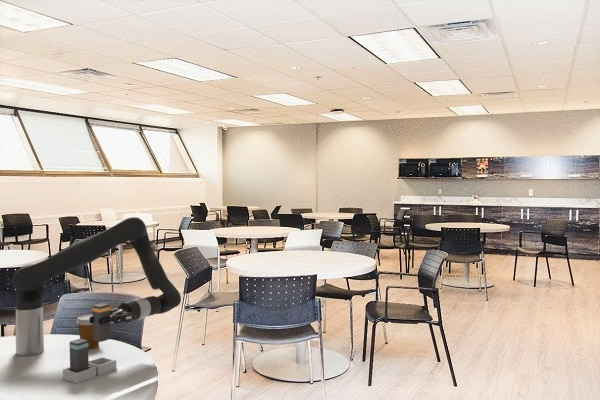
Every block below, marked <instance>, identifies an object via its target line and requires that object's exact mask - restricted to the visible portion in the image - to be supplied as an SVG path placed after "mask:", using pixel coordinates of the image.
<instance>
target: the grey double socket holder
mask: <svg viewBox="0 0 600 400" xmlns="http://www.w3.org/2000/svg"><path fill="white" fill-rule="evenodd" d="M116 370H118V367H117V360H116V359H113V358H110V357H107V356H100V357H97V358H93V359H91V360H89V369H86V370H83V371H81V372H78V373H76V372H73V371H70V366H69V367H66V368H63V369H62V378H61V380H63V381H66V382H68V383H71V384H74V385H78V384H80V383H83V382H86V381H89V380H92V379H94V378H97V377H99V376H103V375H106V374H108V373H111V372H113V371H116Z"/></svg>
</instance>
